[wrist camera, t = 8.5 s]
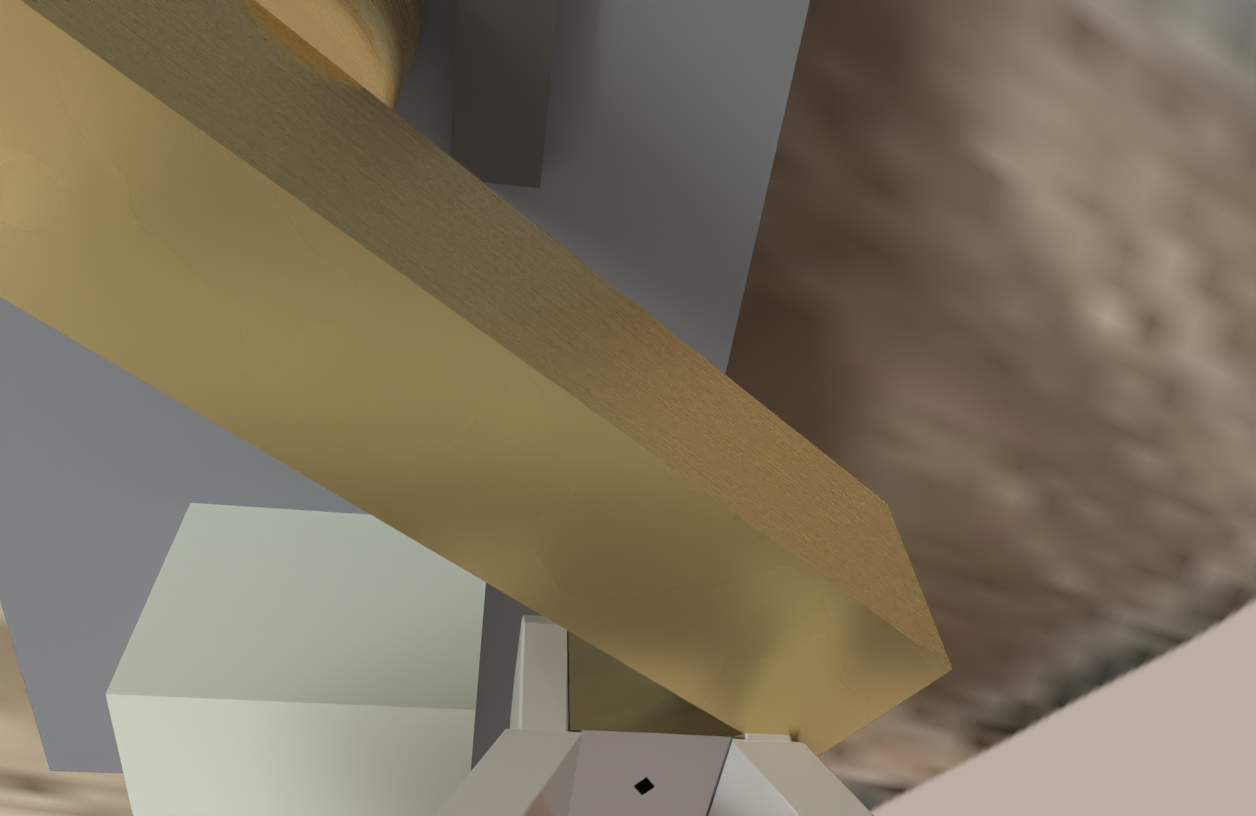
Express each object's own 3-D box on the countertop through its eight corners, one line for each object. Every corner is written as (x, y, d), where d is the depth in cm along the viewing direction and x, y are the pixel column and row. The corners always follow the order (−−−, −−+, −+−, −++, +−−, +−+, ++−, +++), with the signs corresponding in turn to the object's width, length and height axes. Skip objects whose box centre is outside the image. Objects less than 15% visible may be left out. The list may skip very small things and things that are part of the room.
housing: (-88, -565, 13) (-422, -689, 9) (812, -403, 15) (923, -436, 10) (131, 594, 25) (37, 797, 21) (620, 621, 27) (633, 815, 22)
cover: (190, 502, 17) (105, 693, 14) (490, 522, 18) (475, 710, 15) (225, 762, 21) (165, 957, 18) (470, 771, 22) (455, 962, 19)
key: (-471, -500, 10) (-1822, -729, 4) (-395, -770, 9) (-2004, -1521, 3) (710, 408, 17) (787, 776, 11) (824, 310, 16) (968, 658, 10)
